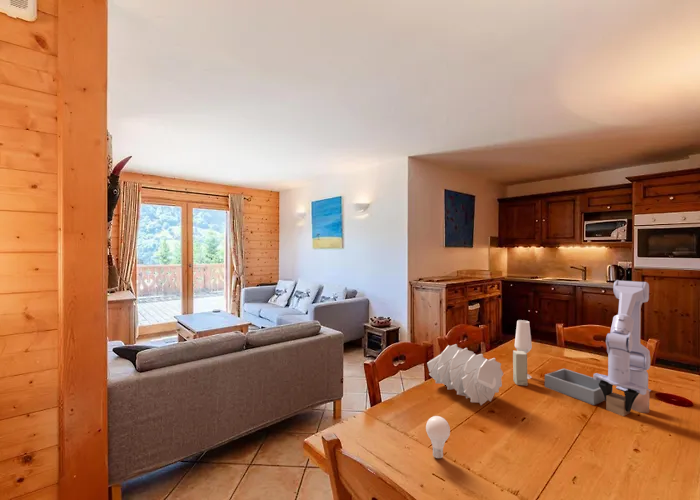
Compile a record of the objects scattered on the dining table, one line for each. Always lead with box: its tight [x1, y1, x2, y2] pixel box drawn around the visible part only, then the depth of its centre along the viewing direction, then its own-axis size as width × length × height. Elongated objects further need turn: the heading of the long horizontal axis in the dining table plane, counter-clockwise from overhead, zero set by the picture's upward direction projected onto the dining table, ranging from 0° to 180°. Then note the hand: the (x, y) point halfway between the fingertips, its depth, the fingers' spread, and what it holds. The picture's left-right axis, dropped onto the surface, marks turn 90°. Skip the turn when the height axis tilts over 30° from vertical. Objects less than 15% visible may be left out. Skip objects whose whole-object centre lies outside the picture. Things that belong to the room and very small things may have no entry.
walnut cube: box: [605, 392, 632, 417], centre depth 114 cm, size 5×5×5 cm
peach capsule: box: [631, 389, 650, 414], centre depth 115 cm, size 5×5×7 cm
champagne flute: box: [514, 319, 533, 380], centre depth 145 cm, size 7×7×24 cm
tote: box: [544, 368, 614, 406], centre depth 129 cm, size 14×18×5 cm
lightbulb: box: [425, 415, 451, 459], centre depth 90 cm, size 6×6×11 cm
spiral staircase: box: [426, 343, 504, 406], centre depth 127 cm, size 18×18×25 cm
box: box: [512, 350, 528, 386], centre depth 137 cm, size 5×4×13 cm
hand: (618, 407), depth 114 cm, fingers closed on walnut cube, 5 cm apart
